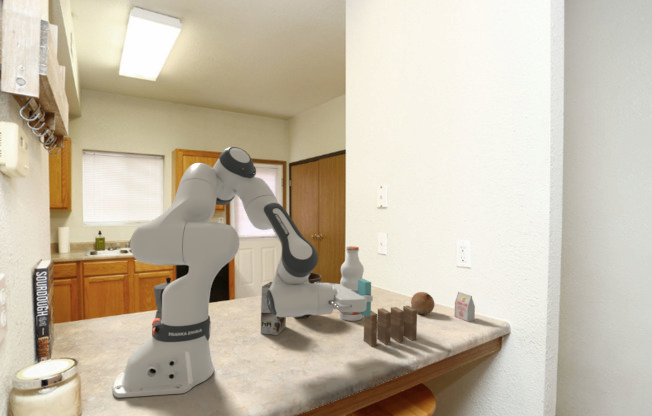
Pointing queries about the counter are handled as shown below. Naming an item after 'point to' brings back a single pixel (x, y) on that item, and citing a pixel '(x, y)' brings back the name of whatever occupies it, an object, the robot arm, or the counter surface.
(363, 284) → the teal domino tile
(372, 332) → the domino
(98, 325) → the counter surface
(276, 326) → the coffee box
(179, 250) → the robot arm
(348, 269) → the fruit juice
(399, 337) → the domino
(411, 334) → the domino
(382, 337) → the domino
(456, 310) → the tea bag
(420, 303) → the onion
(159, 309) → the coffeepot
